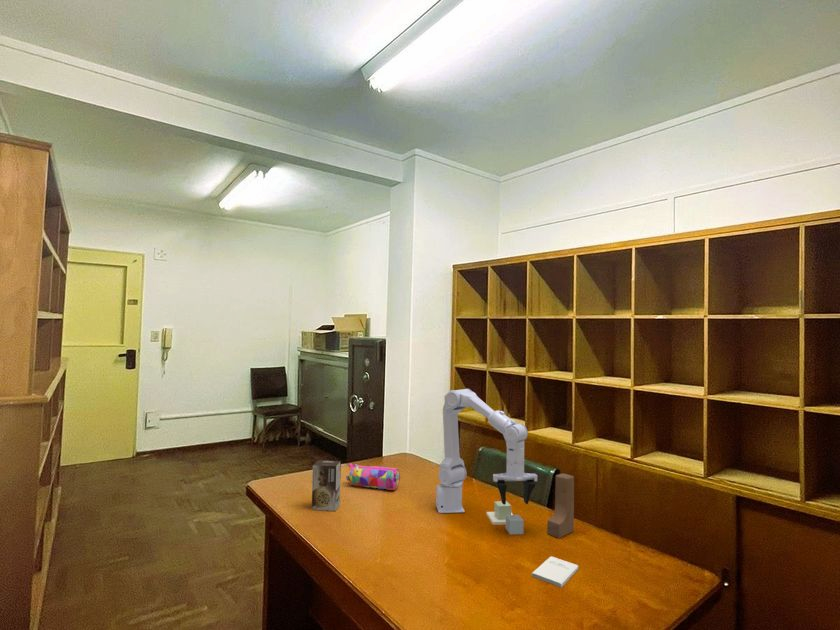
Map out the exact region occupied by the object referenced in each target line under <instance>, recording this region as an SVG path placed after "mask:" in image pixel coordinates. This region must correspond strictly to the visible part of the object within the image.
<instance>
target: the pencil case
mask: <svg viewBox="0 0 840 630" xmlns="http://www.w3.org/2000/svg"><path fill="white" fill-rule="evenodd" d="M348 467H350V471H349V474H348V475H346V481H348V483H349V485H350V486H352V485H353V486H357V487H362V486H363V487H364V488H370V487H371V488H372V489H376V488H378V490H384V489H386V490H387V491H396V490H397V489H398V486H399V484H400V482H401V474H400V470H399V468H397V467H396V468H395V467H394V468H393V467H387V466H385V467H384V466H378V465H375V466H374V465H372V466H370V465H368V466H367V465H366V466H365V465H359V464H356V463H354V464H352V462H350V463H349V464H348ZM386 490H385V491H386Z"/></svg>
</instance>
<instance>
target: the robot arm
mask: <svg viewBox="0 0 840 630" xmlns="http://www.w3.org/2000/svg"><path fill="white" fill-rule="evenodd" d="M443 399H444V404H443V406H442V407H443V408H442V425H443V426H442V427H443V447H444V448H443V449H444V450H443V451H444V458H443V460H442V461H441V463H440V464H439V465H440V466H439V471H438V479H439V482H440V484H436V486H435V487H436V489H435V507H436V510H437V511H438V513H440V514H446V513H447V514H448V513H449V514H451V513H453V514H454V513H465V509H464V507H463V484H464V480H465V479H466V478H467V469H466V466H465V461H464V460H463V458H461V457H460V455H461V454H460V440H459V418H458V417H459V416H458V414H459V413H461V412H462V410H464V409H465V408H472V409H473V410H475V411H476V412H478V413H479V414H480V415H482V416H484V417H485V418H486V419H488V423H489V425H490V426H491V427H493V428H494V429H496V430H497V431H498V432H499V433H501V434H502V435H503V438H504V441H505V443H506V472H503V473H502V472H501V473H493V474H492V481H493V482H494V483H495V484H496V486H497V489H498V491H499V492H498V493H499V495H500V501H502V503H503V504H506V501H507V498H506V497H507V496H506V494H507V493H506V492H507V484H506V482H519V481H520V482H521V481H522V482H523V490H524V491H523V502H524V504H526V505H528V504H529V501H530V498H531V495H532V493H533V491H534V488H535V487H536V482H538V475H537V474H536V473H528V472H525V441H526V440H527V437H528V435H529V432H528V429H527V427H526V425H524V424H523V423H522V422H516V420H514V419H511V418H510V417H509V416H507V415H506V414H505V413H506V412H504V411H503V410H497V409H496V410H494V409H493V408H491V406H490V405H488V404H487V403H485V402H484V401H483V400H482V399H481V398H480V397H479V396H478V395H477V393H476V392H474V391H472V390H471V389H470V388H464V389H456V390H455V389H452V390H449V391H448V392H447V393H445V395H444V398H443Z"/></svg>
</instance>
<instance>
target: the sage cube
mask: <svg viewBox="0 0 840 630" xmlns="http://www.w3.org/2000/svg"><path fill="white" fill-rule="evenodd" d="M493 510H494V511H493V512H494V515H495V516H496V517H497V518H498V520H504V519H506V515H511V512H512V505H511V504H510V503H509V502H508V501H507V500H506V504H503V503H502V501H501V500H500V501H494V509H493Z"/></svg>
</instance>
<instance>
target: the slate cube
mask: <svg viewBox="0 0 840 630" xmlns="http://www.w3.org/2000/svg"><path fill="white" fill-rule="evenodd" d="M524 524H525V523H524V519H523V518H522V517H521V515H520V514H513V515H506V524H505V530H506V531H507V533H508V534H509V535H523V534H524Z"/></svg>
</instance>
